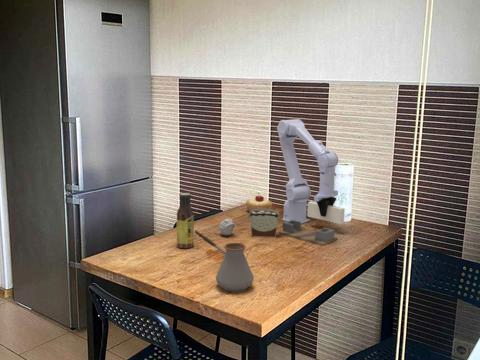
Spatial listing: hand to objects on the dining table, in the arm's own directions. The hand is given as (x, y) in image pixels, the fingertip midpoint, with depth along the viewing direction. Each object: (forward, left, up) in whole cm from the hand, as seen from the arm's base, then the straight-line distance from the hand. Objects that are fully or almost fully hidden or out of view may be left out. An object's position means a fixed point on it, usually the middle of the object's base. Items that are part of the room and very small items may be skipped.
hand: (325, 215), depth 217 cm
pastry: (-38, +3, -7) cm, 39 cm away
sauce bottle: (-26, -53, -7) cm, 59 cm away
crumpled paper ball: (-24, -33, -7) cm, 41 cm away
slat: (0, 0, -2) cm, 2 cm away
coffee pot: (+8, -68, -7) cm, 69 cm away
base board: (0, -12, -6) cm, 14 cm away
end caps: (0, -12, -6) cm, 14 cm away
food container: (-14, -22, -7) cm, 27 cm away
